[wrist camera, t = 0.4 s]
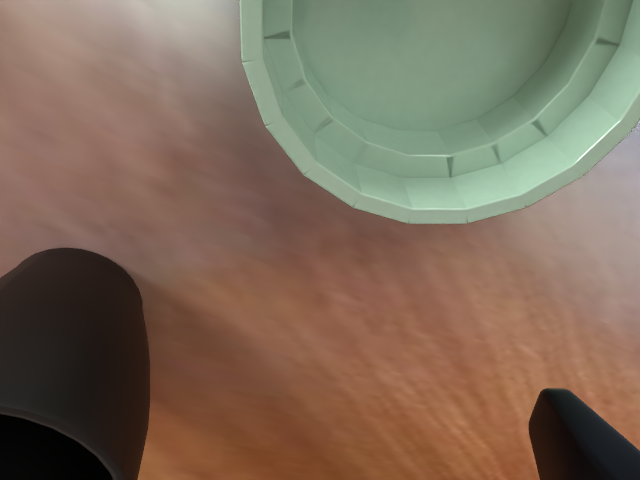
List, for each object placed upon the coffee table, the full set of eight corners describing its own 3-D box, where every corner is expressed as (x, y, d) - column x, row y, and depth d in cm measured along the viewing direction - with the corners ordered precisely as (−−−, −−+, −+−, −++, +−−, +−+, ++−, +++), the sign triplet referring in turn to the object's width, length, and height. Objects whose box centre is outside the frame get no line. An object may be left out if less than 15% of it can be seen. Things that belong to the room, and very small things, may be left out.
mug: (62, 433, 31) (-10, 636, 23) (-62, 240, 24) (-225, 432, 17) (219, 404, 31) (200, 601, 23) (134, 200, 24) (65, 377, 16)
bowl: (560, 158, 24) (619, 224, 20) (251, 157, 23) (246, 225, 19) (665, -227, 18) (787, -249, 13) (240, -249, 17) (229, -280, 13)
